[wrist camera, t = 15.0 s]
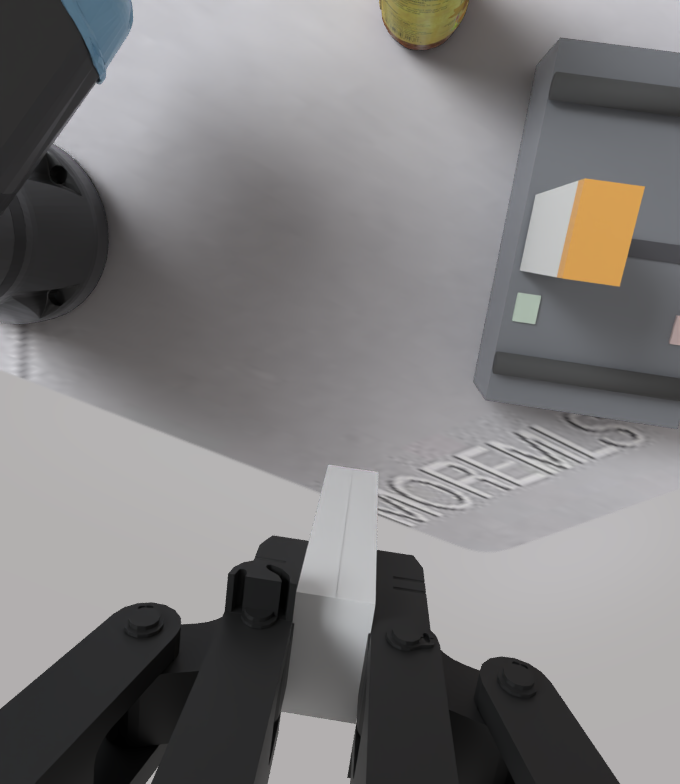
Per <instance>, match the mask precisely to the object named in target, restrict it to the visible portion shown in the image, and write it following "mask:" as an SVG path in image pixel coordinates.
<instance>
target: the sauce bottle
mask: <svg viewBox="0 0 680 784" xmlns="http://www.w3.org/2000/svg"><path fill="white" fill-rule="evenodd" d="M468 3H469V0H379V4H380V9H381V10H382V19H383V22H384V25H385V26H386V28H387V30H388V32H389V33H390V35H391V36H392V37H393V38H394V39H396V40H397V41H398V42H399V43H400V44H401V45H403V46H404V47H406V48H408V49H414V50H428V49H431V48H435V47H437V46H439V45H441V44H443V43H444V42H445V41H446V40H447V39H448V38H449V37H450V36H451V35H452V34H453V32H454V31H455V30H456V29H457V28H458V26H459V24H460V23H461V21H462V20H463V17H464V15H465V13H466V10H467V7H468Z"/></svg>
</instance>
